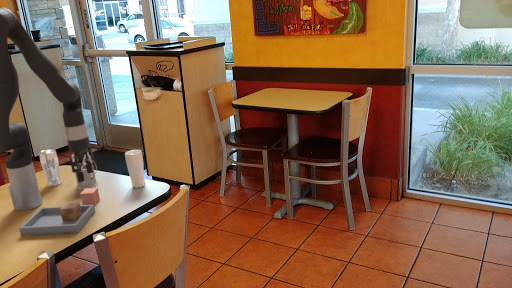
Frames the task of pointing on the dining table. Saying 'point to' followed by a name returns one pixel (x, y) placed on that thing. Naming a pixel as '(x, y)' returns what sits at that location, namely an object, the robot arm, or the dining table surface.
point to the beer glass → (50, 166)
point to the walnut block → (70, 212)
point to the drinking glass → (135, 167)
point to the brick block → (90, 196)
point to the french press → (87, 179)
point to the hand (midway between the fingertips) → (86, 176)
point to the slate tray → (55, 221)
